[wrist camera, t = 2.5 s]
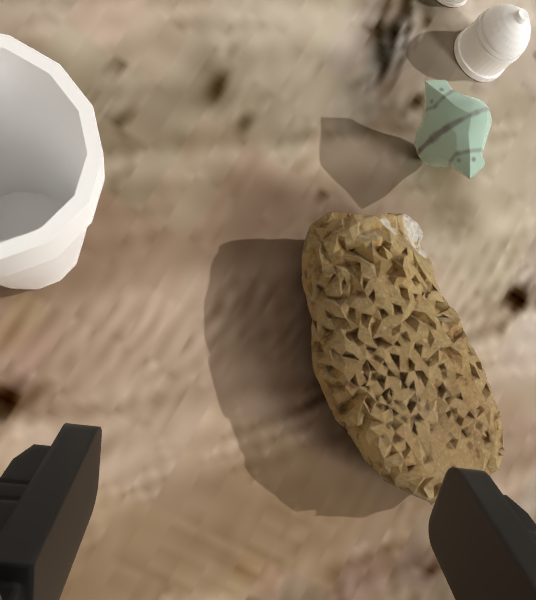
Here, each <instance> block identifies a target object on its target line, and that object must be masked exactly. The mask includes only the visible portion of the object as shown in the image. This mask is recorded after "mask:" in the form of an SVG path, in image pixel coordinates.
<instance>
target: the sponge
mask: <svg viewBox="0 0 536 600" xmlns="http://www.w3.org/2000/svg"><path fill="white" fill-rule="evenodd" d="M422 237H423V232H422V230H421V228H420V226H419V224H418V223H417V222H415V221H414V220H412V219H411V218H410V217H409V216H408V215H405V214H390V213H388V214H383V215H381V216H380V217H379V218H377V217H376V216H374V215H358V214H353V215H351V216H350V217H349V213H343V212H331V213H328V214H325V215H324V216H323V217H322V218H321V219H319V220H318V221H316V222H315V223H313V224H312V225H311V226H310V228H309V231H308V234H307V237H306V240H305V243H304V246H303V251H302V278H301V281H302V285H303V289H304V292H305V294H306V299H307V304H308V308H309V312H310V314H311V318H312V326H311V332H312V339H311V350H312V364H313V370H314V373H315V376H316V378H317V379H318V381H319V383H320V386H321V389H322V391H323V393H324V396H325V398H326V400H327V402H328V405H329V408H330V409H331V410H332V412H333V416H334V418H335V420H336V421H337V422H338V423H339V424H340V425H341V426H343V427H346V429H347V430H348V433H347V434H349V435H350V436H351V438H352V440H353V441H354V443H355V445H356V446H357V448H358V449H359V451H360V452H361V455H362V457H363V459H364V460H365V461H366V462H367V463H369V464H370V465H371V466H372V467H373V468H374V469H375V470H376V471H377V472H378V473H379V474H381V475H382V477H383V479H384V481H386V482H388V483H390V484H392V485H394V486H397V487H399V488H401V489H402V490H404V491H406V492H408V493H409V494H412V495H414V496H416V497H419V498H421V499H424V500H426V501H428V502H429V503H430V504H431V505H432V504H433V503H434V502H436V499H437V496H438V493H439V491H440V488H441V485H442V482H443V479H444V476H445V474H446V472H447V470H448V469H449V468H451V467H456V468H465V469H474V470H483V471H485V472H486V473H487V474H488V475H489V476H490V474H491V473H493V472H495V471H497V469H498V470H499V468H500V462H501V459H502V456H503V455H502V454H500V453H499V452H498V451H504V442H503V433H502V419H501V416H500V412H499V409H498V407H497V405H496V402H495V400H494V398H493V396H492V393H491V388H490V385H489V384H488V382H487V378H486V375H485V372H484V369H483V367H482V364H481V362H480V360H479V358H478V357H477V355H476V353H475V351H474V349H473V348H472V347H471V346H470V345H469V343H468V342H467V336H466V334H465V332H464V330H463V327H462V324H461V321H460V318H459V317H458V315H457V313H456V311H455V310H454V309H452V308H451V307H450V306H449V305H448V303H447V302H446V301H445V299H444V298H443V296H442V295H441V292H440V289H439V287H438V285H437V283H436V281H435V278H434V270H433V265H432V263H431V262H430V260H429V258H428V256H427V255H426V253H425V252H424V250H423V248H422V246H421V245H420V243H419V242H420V241H421V240H422Z"/></svg>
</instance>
